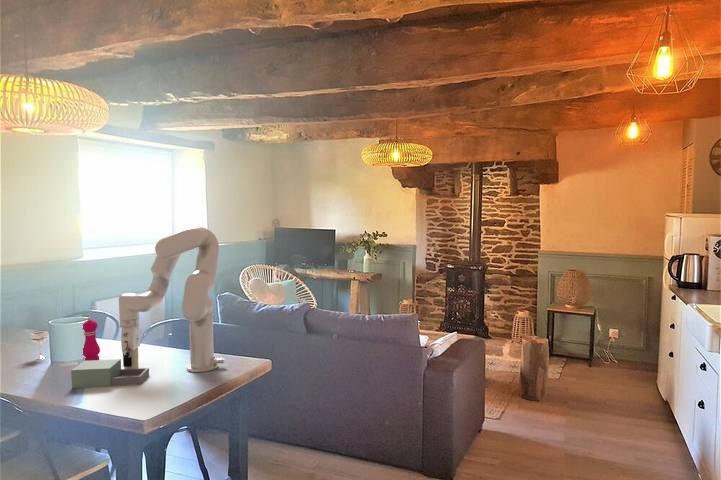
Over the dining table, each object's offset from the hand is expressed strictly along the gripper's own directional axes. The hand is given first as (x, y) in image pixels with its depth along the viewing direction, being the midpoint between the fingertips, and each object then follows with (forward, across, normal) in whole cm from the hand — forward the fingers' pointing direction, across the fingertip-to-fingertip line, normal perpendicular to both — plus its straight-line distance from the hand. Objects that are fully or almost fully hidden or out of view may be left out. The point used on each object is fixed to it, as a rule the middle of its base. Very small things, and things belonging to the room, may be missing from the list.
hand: (131, 363), depth 217 cm
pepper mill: (+3, +15, +22) cm, 27 cm away
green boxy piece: (+3, -15, +2) cm, 15 cm away
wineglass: (+3, +24, +48) cm, 54 cm away
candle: (+3, 0, 0) cm, 3 cm away
